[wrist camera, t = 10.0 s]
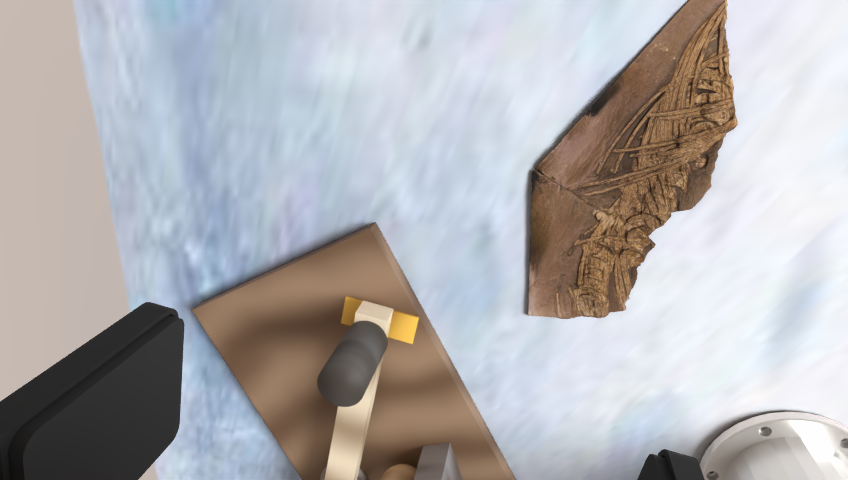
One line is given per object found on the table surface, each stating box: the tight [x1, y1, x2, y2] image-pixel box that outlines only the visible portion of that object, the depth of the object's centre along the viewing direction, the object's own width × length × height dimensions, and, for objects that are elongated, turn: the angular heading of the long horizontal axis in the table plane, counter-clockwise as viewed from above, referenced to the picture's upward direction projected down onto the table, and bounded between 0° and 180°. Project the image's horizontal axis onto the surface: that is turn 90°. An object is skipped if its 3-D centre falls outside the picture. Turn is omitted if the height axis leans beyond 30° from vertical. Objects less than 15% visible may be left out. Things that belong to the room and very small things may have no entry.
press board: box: [192, 222, 516, 480], centre depth 47 cm, size 26×18×6 cm
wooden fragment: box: [528, 0, 738, 319], centre depth 40 cm, size 26×11×1 cm, turn 156°
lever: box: [317, 300, 393, 480], centre depth 45 cm, size 22×4×8 cm, turn 168°
